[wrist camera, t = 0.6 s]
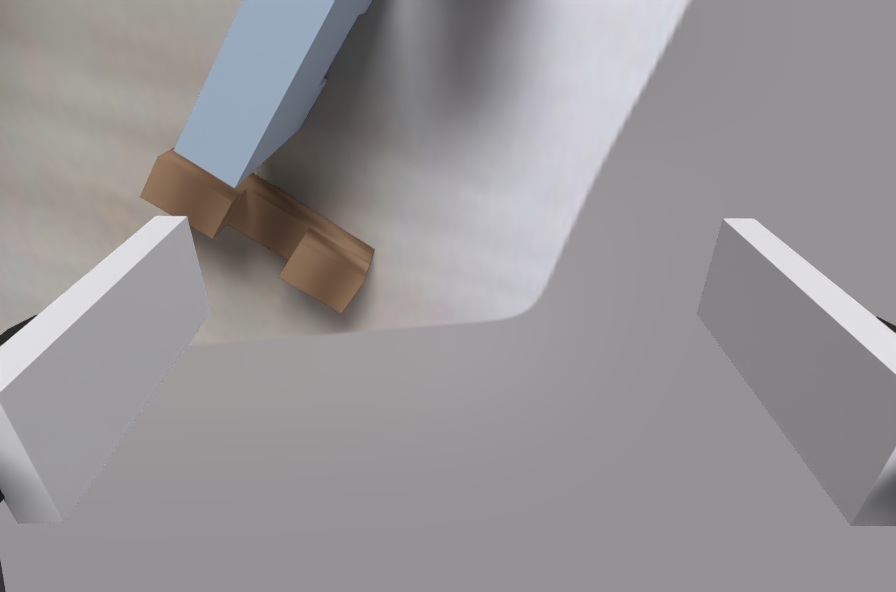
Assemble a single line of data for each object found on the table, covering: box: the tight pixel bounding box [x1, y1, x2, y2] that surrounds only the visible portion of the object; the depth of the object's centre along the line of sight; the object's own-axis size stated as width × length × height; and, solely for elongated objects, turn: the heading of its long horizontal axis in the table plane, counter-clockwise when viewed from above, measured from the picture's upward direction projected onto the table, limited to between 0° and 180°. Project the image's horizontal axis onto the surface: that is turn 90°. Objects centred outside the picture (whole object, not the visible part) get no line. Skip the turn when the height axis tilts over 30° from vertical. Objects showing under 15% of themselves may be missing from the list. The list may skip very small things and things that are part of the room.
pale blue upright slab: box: [173, 0, 372, 188], centre depth 28 cm, size 3×12×12 cm, turn 145°
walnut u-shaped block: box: [140, 147, 374, 313], centre depth 37 cm, size 14×3×5 cm, turn 55°
